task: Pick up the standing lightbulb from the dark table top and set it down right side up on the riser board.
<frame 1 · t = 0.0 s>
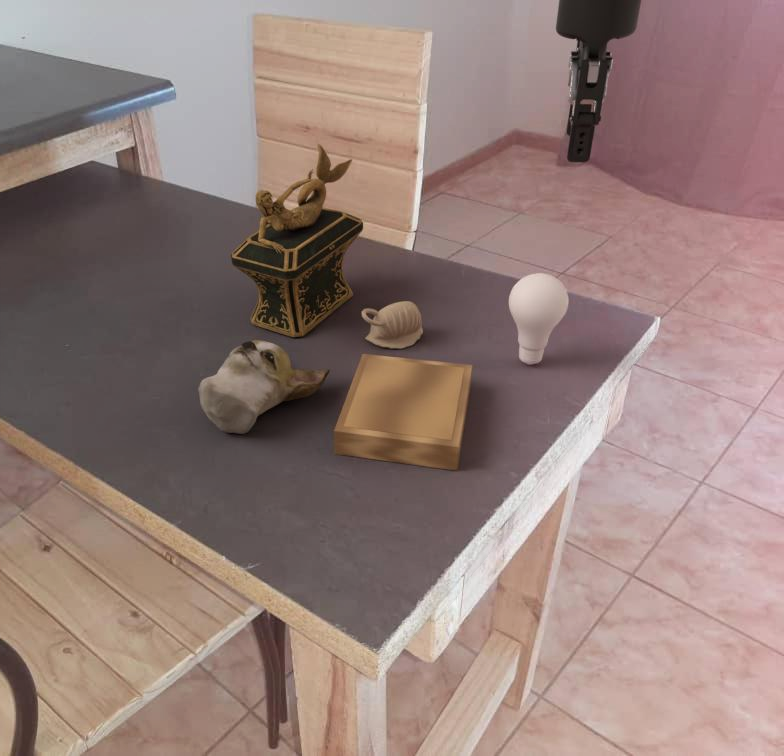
hand: (577, 147, 84), 21 cm above the table, tool pointing down, fingers open, 8 cm apart
ceramic sculpture: (257, 408, 85), on the table
lightbulb: (529, 364, 88), on the table
decorative ornament: (392, 341, 94), on the table
riser: (405, 419, 81), on the table
decorative box: (310, 305, 103), on the table
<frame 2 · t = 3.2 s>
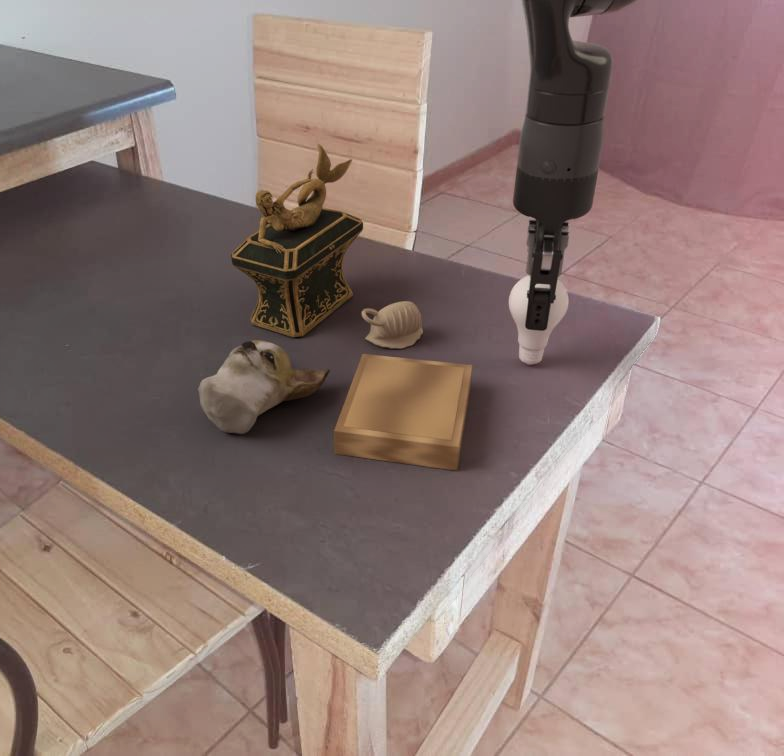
hand: (536, 312, 84), 7 cm above the table, tool pointing down, fingers closed on lightbulb, 6 cm apart
lightbulb: (529, 364, 88), on the table, touching gripper
everything else where it was.
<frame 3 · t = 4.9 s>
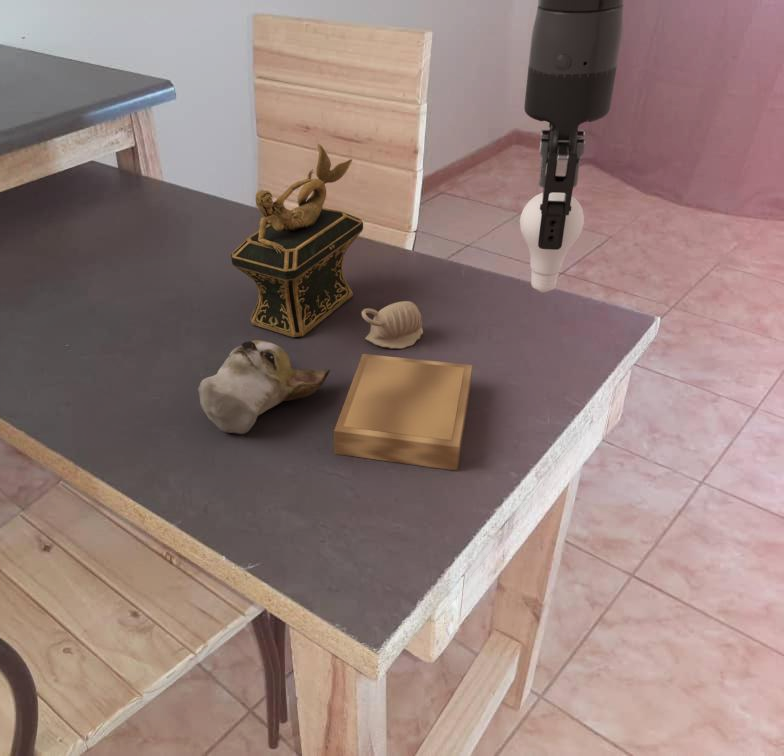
hand: (549, 233, 79), 16 cm above the table, tool pointing down, fingers closed on lightbulb, 6 cm apart
lightbulb: (542, 293, 83), point 9 cm above the table, touching gripper
everything else where it was.
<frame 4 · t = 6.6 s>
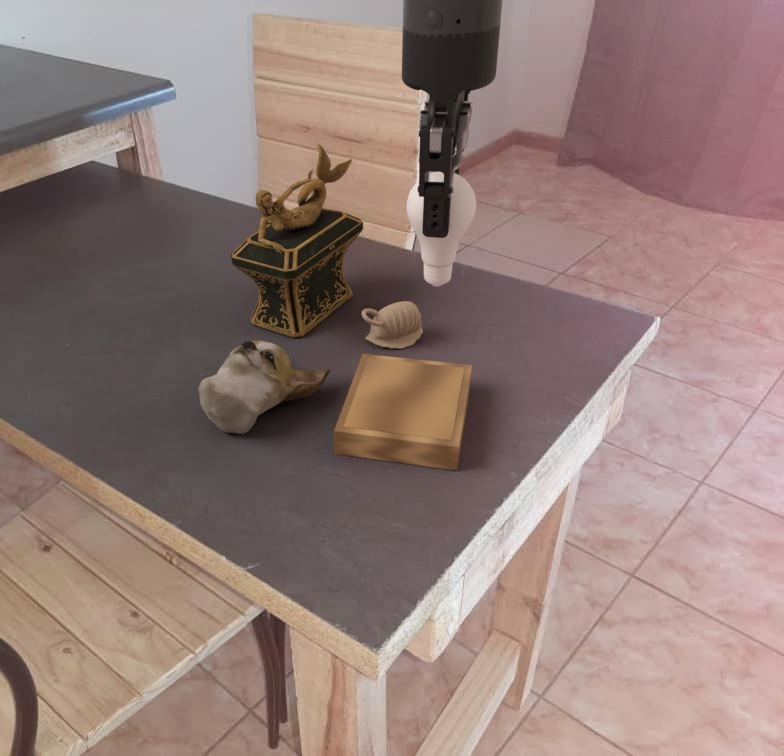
hand: (440, 219, 70), 21 cm above the table, tool pointing down, fingers closed on lightbulb, 6 cm apart
lightbulb: (436, 287, 74), point 15 cm above the table, touching gripper
everything else where it was.
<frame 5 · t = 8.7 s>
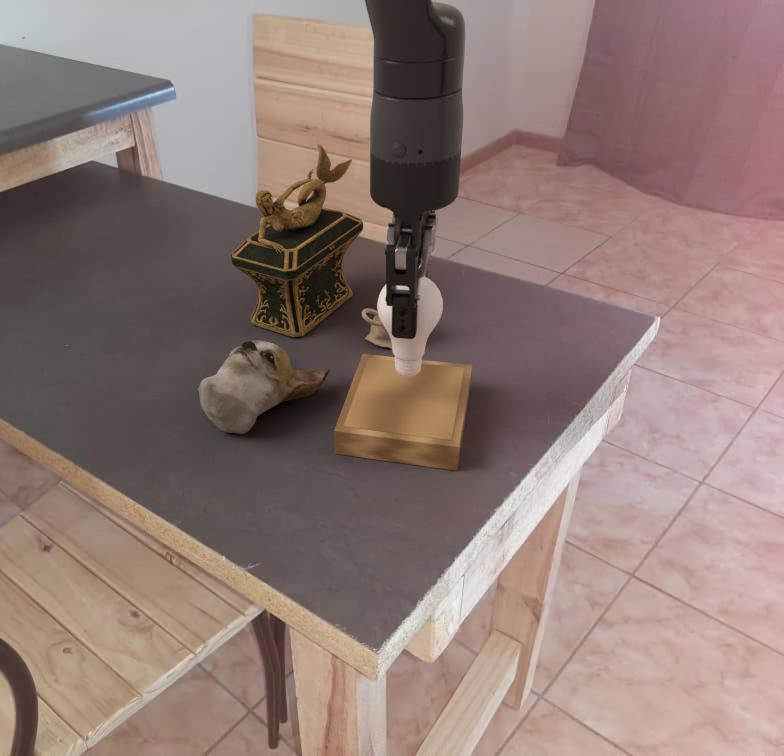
hand: (409, 317, 74), 12 cm above the table, tool pointing down, fingers closed on lightbulb, 6 cm apart
lightbulb: (407, 376, 78), point 6 cm above the table, touching gripper
everything else where it was.
when the fingers open (10 cm above the table, at t = 10.0 s): lightbulb stays where it is, resting on riser.
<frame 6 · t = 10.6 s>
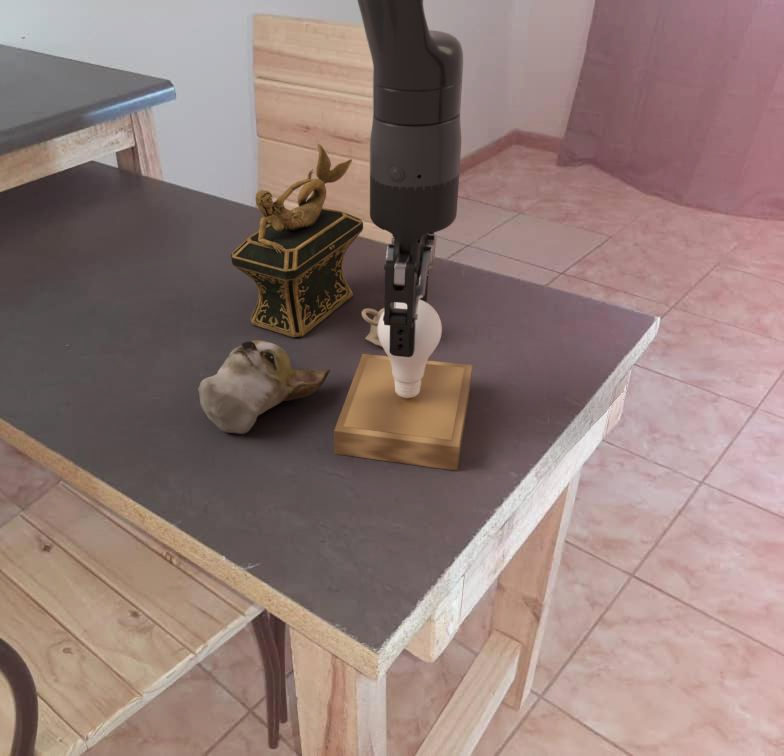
hand: (409, 330, 75), 11 cm above the table, tool pointing down, fingers open, 8 cm apart
lightbulb: (407, 398, 79), point 3 cm above the table, touching riser
everything else where it was.
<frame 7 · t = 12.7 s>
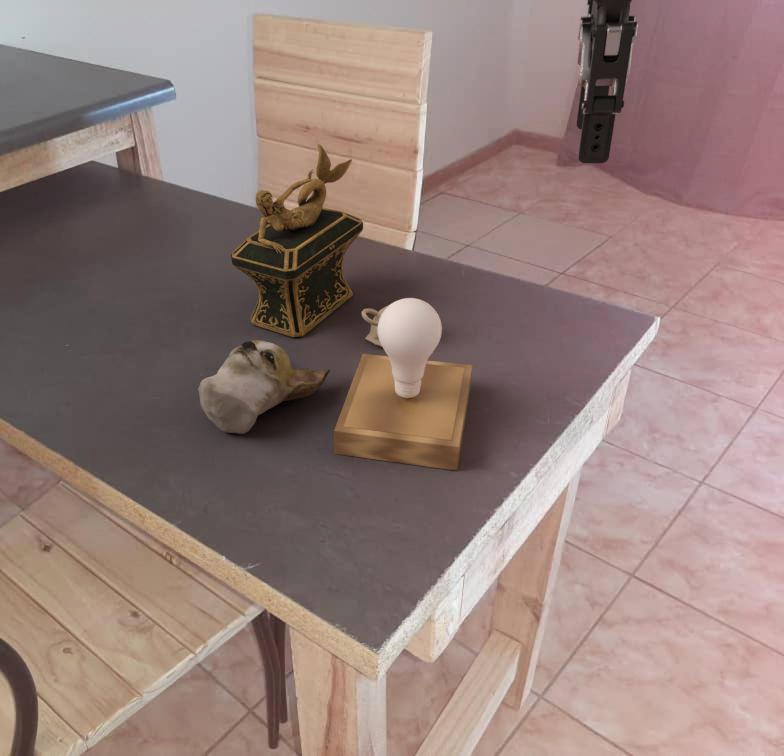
hand: (590, 144, 64), 28 cm above the table, tool pointing down, fingers open, 8 cm apart
nothing on the table moved.
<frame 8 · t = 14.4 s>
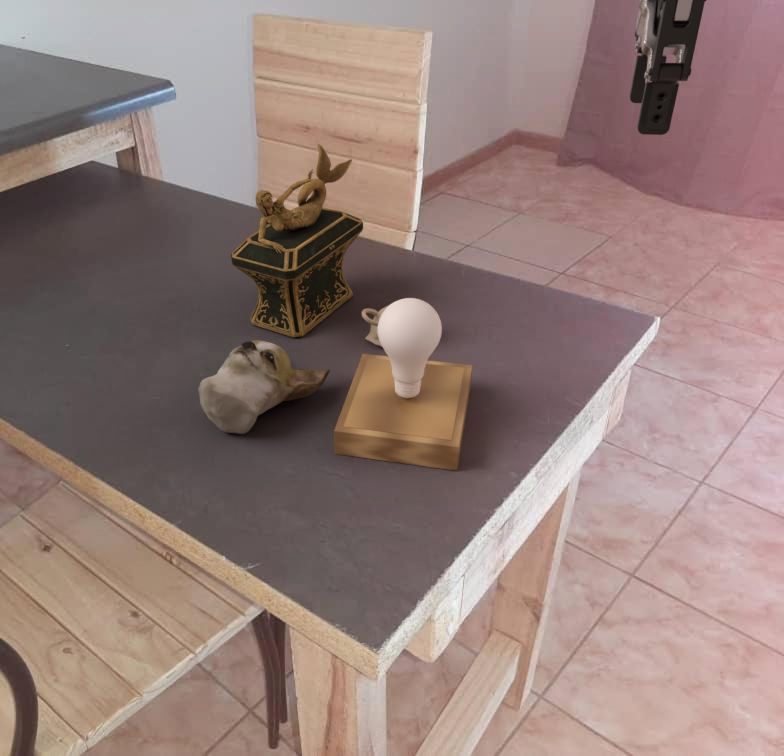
hand: (647, 116, 63), 30 cm above the table, tool pointing down, fingers open, 8 cm apart
nothing on the table moved.
at the end: lightbulb inside the target area on the riser (0.1 cm from its centre), point 2.9 cm above the riser's base; lightbulb tilted 0°; the gripper is holding nothing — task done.
